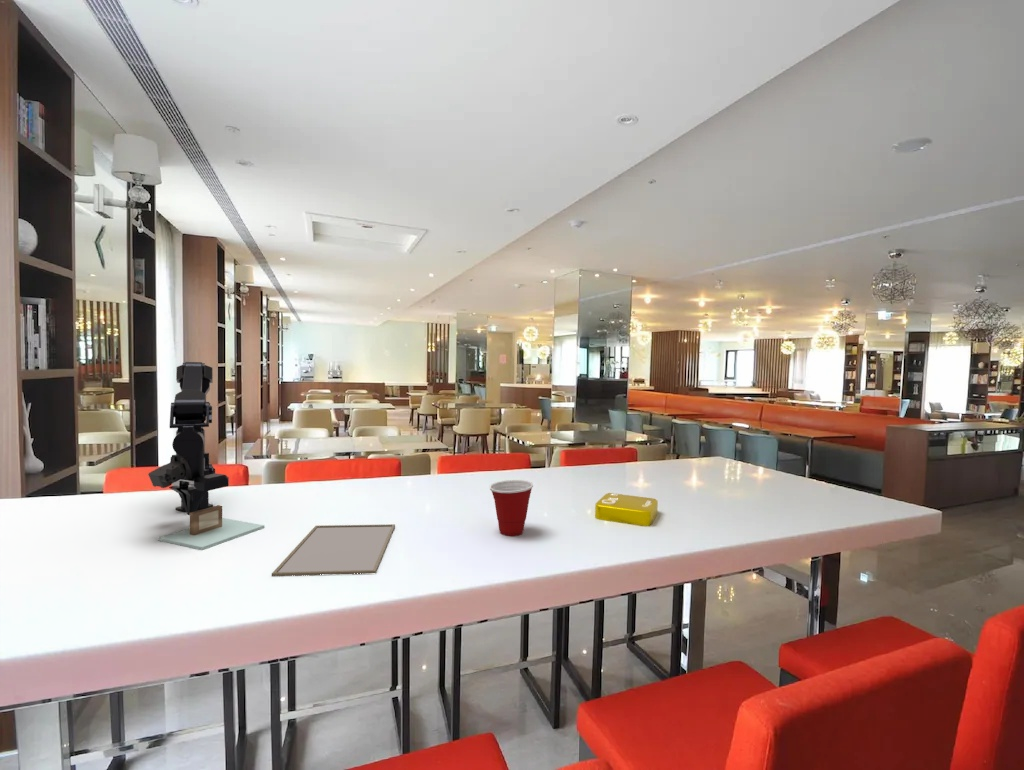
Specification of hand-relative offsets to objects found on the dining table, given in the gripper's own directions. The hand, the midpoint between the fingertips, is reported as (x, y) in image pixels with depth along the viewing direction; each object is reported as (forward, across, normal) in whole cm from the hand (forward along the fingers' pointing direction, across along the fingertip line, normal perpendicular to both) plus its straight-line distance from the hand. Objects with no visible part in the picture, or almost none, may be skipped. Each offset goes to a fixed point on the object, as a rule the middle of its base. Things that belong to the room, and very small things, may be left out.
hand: (190, 514), depth 117 cm
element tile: (+4, +95, +57) cm, 111 cm away
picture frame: (+4, +41, +5) cm, 41 cm away
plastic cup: (+4, +70, +30) cm, 77 cm away
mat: (+4, +8, 0) cm, 8 cm away
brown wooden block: (+3, +6, 0) cm, 6 cm away
